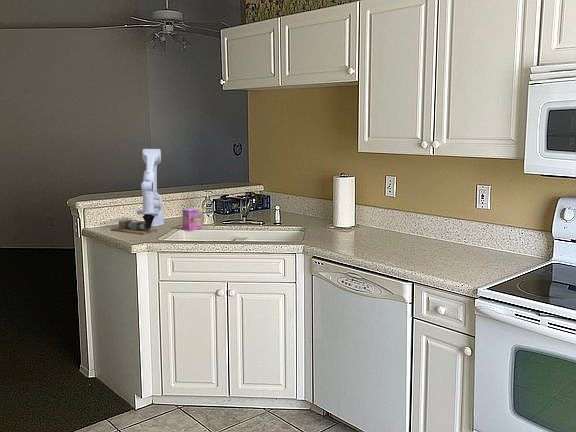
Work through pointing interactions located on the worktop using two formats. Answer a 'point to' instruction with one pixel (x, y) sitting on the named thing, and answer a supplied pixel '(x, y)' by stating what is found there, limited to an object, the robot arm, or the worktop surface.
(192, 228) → the box
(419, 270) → the worktop surface
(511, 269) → the worktop surface
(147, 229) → the shaft
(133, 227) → the bearing board
